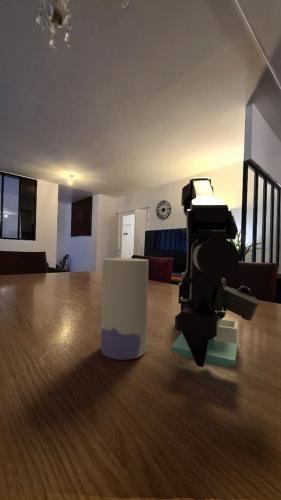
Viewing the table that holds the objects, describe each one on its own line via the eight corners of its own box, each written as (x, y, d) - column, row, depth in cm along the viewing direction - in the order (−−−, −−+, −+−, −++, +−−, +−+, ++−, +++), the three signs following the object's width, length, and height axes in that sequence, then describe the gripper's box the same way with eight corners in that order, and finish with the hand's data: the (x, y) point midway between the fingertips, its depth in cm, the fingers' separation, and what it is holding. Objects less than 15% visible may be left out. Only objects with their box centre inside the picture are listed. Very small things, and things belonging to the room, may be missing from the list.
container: (151, 344, 53) (153, 258, 53) (137, 364, 44) (139, 260, 44) (113, 337, 56) (115, 257, 56) (91, 355, 47) (94, 258, 47)
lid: (170, 357, 41) (170, 346, 41) (181, 343, 47) (181, 333, 47) (234, 373, 36) (234, 360, 36) (236, 354, 42) (237, 343, 42)
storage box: (188, 347, 52) (189, 321, 52) (194, 338, 57) (194, 314, 57) (236, 357, 47) (236, 329, 47) (237, 347, 53) (238, 321, 53)
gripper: (257, 281, 30) (254, 401, 30) (254, 271, 46) (252, 347, 46) (175, 275, 34) (172, 378, 34) (199, 267, 51) (197, 336, 51)
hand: (204, 357), depth 42 cm, fingers closed on lid, 7 cm apart
